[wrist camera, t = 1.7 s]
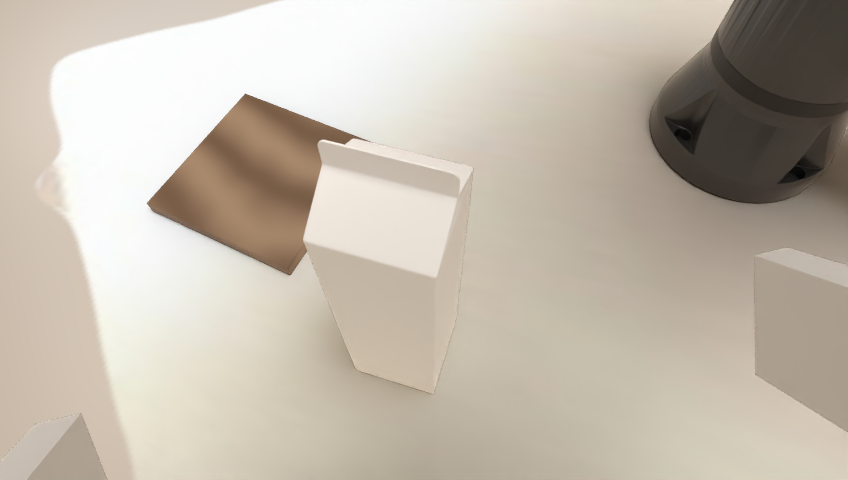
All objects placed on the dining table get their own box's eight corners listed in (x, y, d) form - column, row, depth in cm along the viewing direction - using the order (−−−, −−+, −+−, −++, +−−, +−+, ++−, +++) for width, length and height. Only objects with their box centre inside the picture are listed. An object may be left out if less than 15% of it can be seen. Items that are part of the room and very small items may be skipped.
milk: (382, 298, 42) (342, 84, 23) (457, 320, 41) (481, 114, 22) (354, 372, 39) (281, 196, 20) (434, 397, 38) (438, 237, 19)
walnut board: (248, 102, 52) (245, 93, 51) (374, 151, 49) (373, 143, 48) (153, 211, 46) (146, 203, 45) (290, 275, 43) (286, 268, 42)
